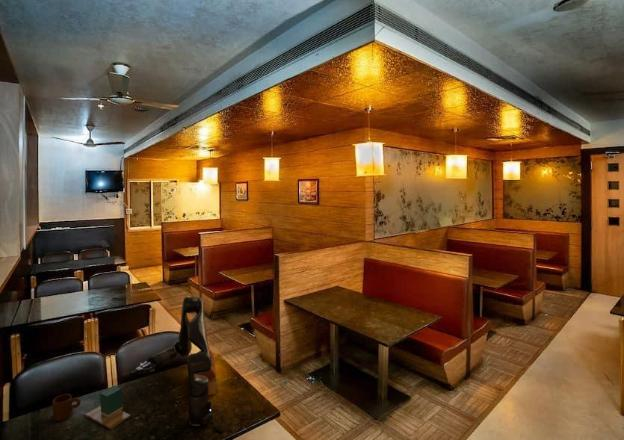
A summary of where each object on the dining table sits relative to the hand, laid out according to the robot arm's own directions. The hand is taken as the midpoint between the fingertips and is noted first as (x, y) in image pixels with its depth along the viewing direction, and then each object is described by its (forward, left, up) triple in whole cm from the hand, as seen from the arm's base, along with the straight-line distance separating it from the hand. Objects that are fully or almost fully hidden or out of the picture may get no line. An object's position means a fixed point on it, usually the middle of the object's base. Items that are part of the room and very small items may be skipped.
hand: (130, 375), depth 179 cm
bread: (-21, -30, -15) cm, 40 cm away
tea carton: (0, +11, -8) cm, 13 cm away
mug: (+17, +22, -15) cm, 31 cm away
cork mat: (0, +13, -15) cm, 20 cm away
